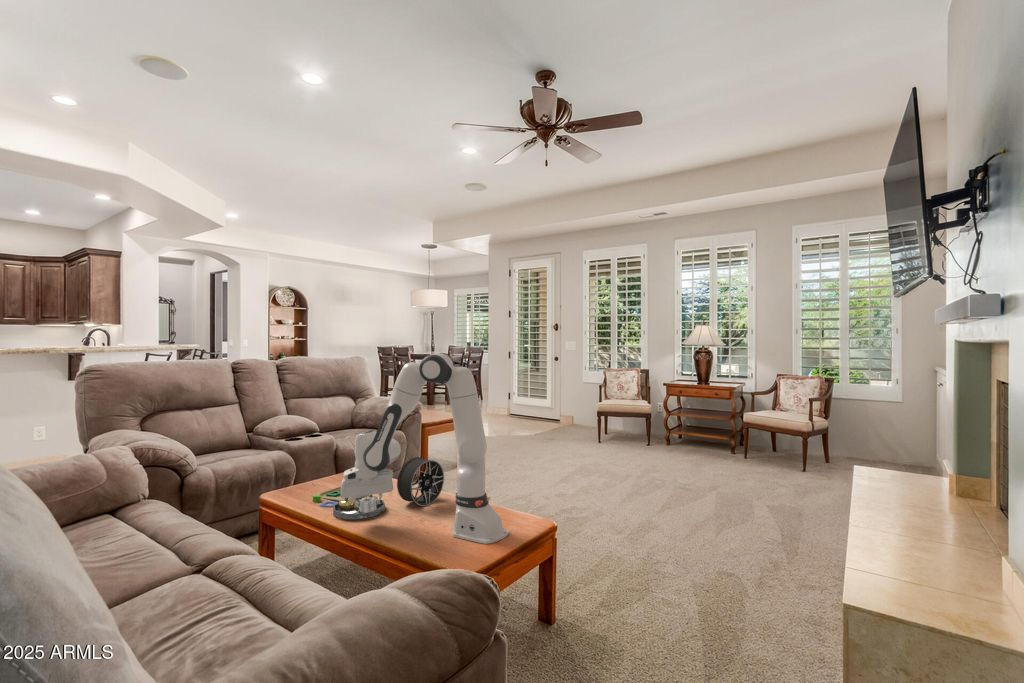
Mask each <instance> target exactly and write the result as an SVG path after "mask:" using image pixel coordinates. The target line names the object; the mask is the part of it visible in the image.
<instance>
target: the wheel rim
mask: <svg viewBox="0 0 1024 683" xmlns="http://www.w3.org/2000/svg"><path fill="white" fill-rule="evenodd" d="M423 466H424V467H423ZM421 467H423V470H420V468H421ZM417 471H418V472H420V473H421V474H420V477H419V478H418V476H417V475H418V474H417ZM414 477H415V478H416V481H415V482H414V483H413V480H414ZM444 484H445V472H444V469H443V466H442V465H441V464H440V463H439V462H438V461H436V460H434V459H424V458H422V457H419V456H415V457H412V458H409V460H407V461H406V462H405V463H404V464H403V465H402V467H401V468H400V471H399V472H398V476H397V480H396V486H397V487H396V488H397V492H398V495H399V496H400V498H401V499H402V500H404V501H406V502H413V503H414V504H416V505H418V506H420V507H426V506H430V505H431V504H433V503H434V502H435V501H436V500H437V499H438V498H439V497H440V495H441V493H442V490H443V488H444ZM413 486H416V487H413ZM413 491H416V493H415V495H414V493H413ZM419 491H420V493H421V494H420V495H418V493H419Z"/></svg>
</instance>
